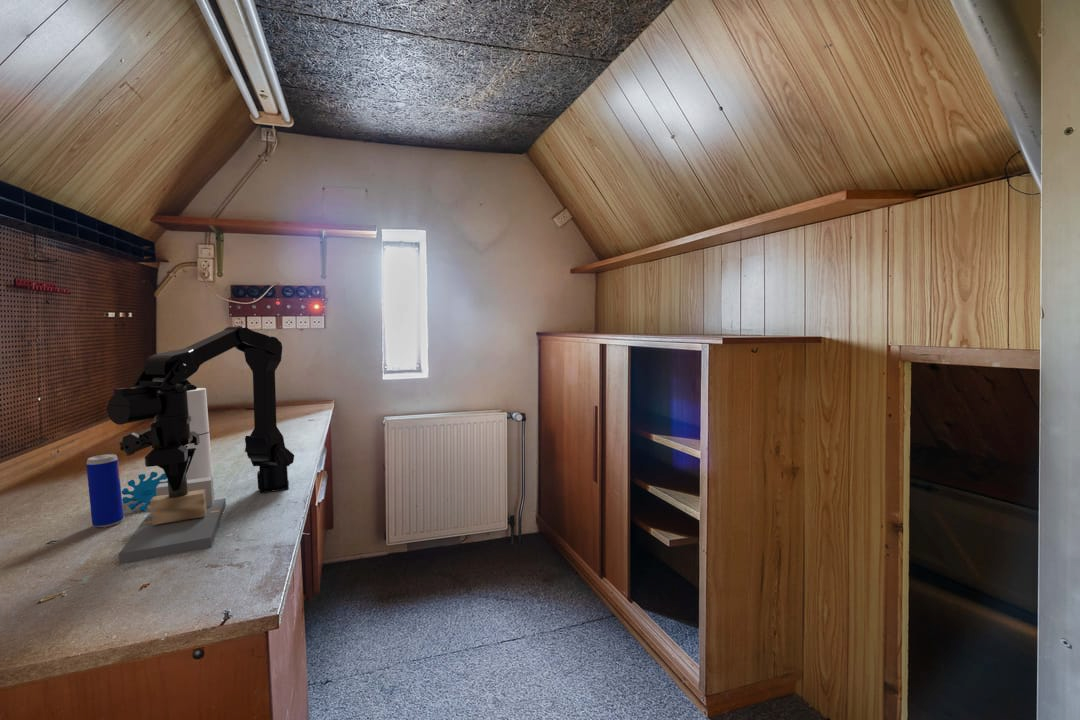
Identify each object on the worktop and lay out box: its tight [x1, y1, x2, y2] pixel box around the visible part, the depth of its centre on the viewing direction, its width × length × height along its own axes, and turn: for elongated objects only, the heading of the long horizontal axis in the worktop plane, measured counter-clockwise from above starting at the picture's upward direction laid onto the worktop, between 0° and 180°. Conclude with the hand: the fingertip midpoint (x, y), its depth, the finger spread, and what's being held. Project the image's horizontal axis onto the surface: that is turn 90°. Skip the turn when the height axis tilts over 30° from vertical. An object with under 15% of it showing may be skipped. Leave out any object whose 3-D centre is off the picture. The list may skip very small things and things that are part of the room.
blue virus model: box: [121, 471, 168, 512], centre depth 119 cm, size 11×6×10 cm
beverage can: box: [85, 453, 124, 528], centre depth 107 cm, size 5×5×15 cm
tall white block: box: [186, 387, 213, 480], centre depth 139 cm, size 7×7×25 cm
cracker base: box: [117, 476, 227, 565], centre depth 103 cm, size 14×24×8 cm, turn 27°
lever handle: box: [149, 472, 207, 525], centre depth 104 cm, size 9×3×11 cm, turn 117°
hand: (177, 487), depth 104 cm, fingers closed on lever handle, 3 cm apart
